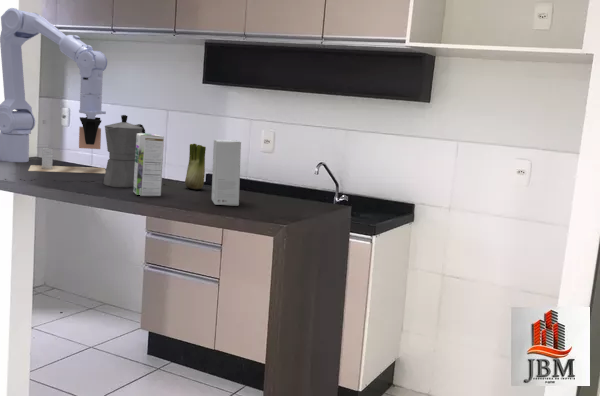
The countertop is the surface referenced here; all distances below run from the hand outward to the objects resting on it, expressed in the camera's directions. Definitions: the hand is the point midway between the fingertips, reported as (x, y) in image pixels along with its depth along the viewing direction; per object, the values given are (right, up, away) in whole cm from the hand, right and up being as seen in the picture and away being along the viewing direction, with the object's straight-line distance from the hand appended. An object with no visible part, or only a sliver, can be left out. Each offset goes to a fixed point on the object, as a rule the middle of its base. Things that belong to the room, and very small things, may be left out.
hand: (89, 143), depth 175 cm
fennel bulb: (+31, -13, -11) cm, 36 cm away
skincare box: (+41, -17, -28) cm, 53 cm away
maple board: (-6, -8, -1) cm, 10 cm away
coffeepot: (+14, -12, -13) cm, 22 cm away
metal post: (-11, -7, -3) cm, 13 cm away
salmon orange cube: (0, -1, 0) cm, 1 cm away
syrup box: (+23, -15, -26) cm, 37 cm away
